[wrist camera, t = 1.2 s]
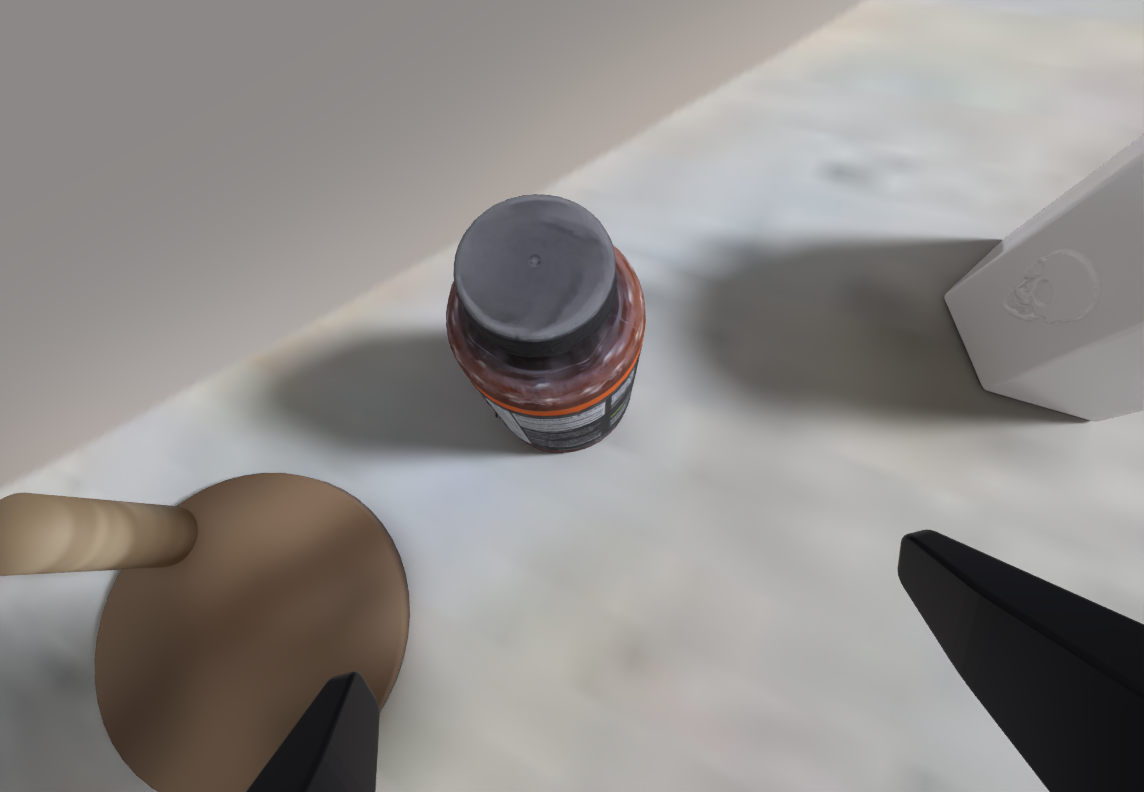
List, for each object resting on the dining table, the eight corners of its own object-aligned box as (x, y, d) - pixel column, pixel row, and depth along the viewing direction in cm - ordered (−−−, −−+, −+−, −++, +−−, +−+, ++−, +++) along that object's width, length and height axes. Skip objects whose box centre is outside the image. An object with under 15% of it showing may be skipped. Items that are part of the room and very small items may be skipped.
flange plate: (471, 610, 21) (412, 641, 14) (241, 876, 19) (48, 1058, 12) (275, 415, 24) (149, 363, 17) (54, 630, 22) (-189, 669, 15)
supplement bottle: (507, 322, 25) (437, 145, 14) (635, 334, 24) (668, 162, 13) (486, 448, 23) (387, 362, 12) (623, 464, 23) (648, 389, 12)
